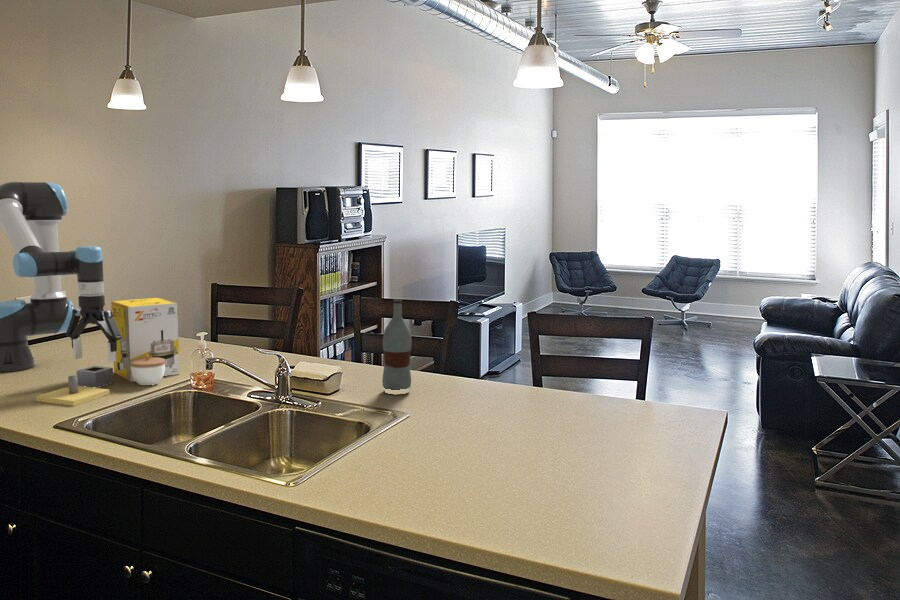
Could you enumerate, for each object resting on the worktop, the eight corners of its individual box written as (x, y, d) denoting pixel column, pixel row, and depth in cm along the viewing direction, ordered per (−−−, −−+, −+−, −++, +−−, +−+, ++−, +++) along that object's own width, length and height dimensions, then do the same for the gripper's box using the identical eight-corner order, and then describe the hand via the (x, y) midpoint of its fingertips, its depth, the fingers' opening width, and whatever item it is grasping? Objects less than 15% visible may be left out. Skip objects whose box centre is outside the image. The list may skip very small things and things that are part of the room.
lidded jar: (128, 388, 236) (127, 359, 234) (133, 380, 246) (132, 352, 245) (164, 387, 238) (163, 358, 237) (167, 379, 249) (166, 351, 247)
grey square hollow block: (77, 385, 238) (76, 370, 237) (95, 380, 245) (94, 365, 244) (96, 388, 235) (95, 372, 235) (113, 382, 242) (112, 367, 242)
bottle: (413, 389, 242) (414, 298, 238) (408, 396, 233) (410, 302, 229) (385, 387, 243) (385, 297, 239) (379, 395, 234) (380, 301, 230)
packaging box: (131, 381, 244) (128, 307, 241) (114, 372, 256) (111, 301, 253) (179, 374, 255) (177, 303, 252) (161, 366, 267) (158, 297, 263)
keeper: (36, 401, 220) (35, 379, 219) (73, 389, 233) (72, 369, 232) (73, 406, 215) (72, 384, 215) (109, 394, 229) (108, 373, 228)
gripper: (51, 294, 236) (55, 359, 239) (114, 297, 229) (117, 365, 231) (69, 291, 243) (73, 355, 246) (131, 295, 236) (134, 360, 238)
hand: (94, 360), depth 239 cm, fingers open, 13 cm apart
